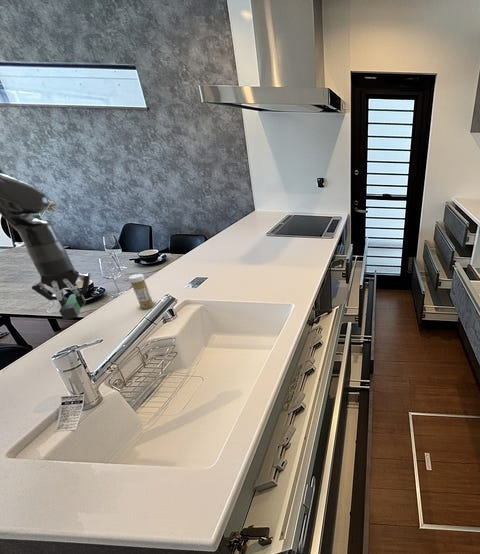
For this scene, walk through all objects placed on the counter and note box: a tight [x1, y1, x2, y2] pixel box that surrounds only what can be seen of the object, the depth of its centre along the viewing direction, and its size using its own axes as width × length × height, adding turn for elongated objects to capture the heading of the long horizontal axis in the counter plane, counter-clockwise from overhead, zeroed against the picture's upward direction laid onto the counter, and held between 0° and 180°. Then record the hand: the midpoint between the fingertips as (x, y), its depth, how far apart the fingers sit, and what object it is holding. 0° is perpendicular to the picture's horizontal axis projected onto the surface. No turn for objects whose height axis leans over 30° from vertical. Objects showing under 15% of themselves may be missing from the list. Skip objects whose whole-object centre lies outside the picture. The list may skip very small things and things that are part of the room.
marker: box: [58, 293, 86, 321], centre depth 96 cm, size 13×3×3 cm, turn 32°
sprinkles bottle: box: [128, 273, 155, 310], centre depth 119 cm, size 5×5×14 cm
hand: (75, 307), depth 97 cm, fingers closed on marker, 2 cm apart
